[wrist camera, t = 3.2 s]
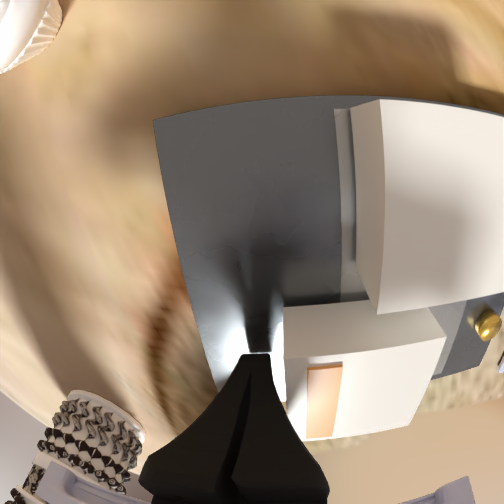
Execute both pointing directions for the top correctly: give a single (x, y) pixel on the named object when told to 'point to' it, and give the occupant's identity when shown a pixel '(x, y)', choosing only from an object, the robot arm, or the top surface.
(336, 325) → the toggle
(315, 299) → the panel
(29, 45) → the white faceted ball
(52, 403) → the top surface
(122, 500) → the robot arm
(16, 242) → the top surface
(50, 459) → the decorative candle
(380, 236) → the toggle
